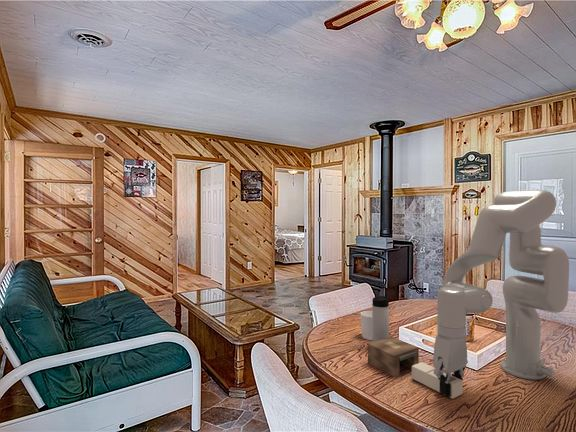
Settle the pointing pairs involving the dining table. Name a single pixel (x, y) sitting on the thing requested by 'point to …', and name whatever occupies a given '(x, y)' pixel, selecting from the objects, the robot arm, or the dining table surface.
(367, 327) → the white cup
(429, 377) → the cream rectangular block
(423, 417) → the dining table surface
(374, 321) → the travel mug
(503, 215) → the robot arm
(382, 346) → the box
